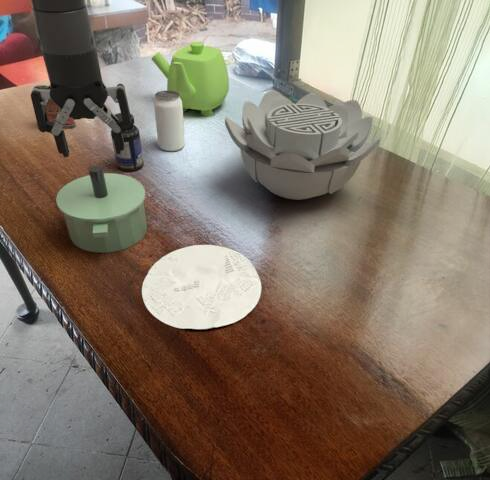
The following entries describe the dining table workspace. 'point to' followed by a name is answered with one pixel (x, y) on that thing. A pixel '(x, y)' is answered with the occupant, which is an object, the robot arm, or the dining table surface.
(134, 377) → the dining table surface
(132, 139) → the pill bottle
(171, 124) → the can
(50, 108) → the lighter
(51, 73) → the robot arm
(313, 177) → the decorative bowl
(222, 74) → the teapot
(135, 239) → the pot
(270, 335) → the dining table surface
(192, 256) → the plaque
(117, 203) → the lid
